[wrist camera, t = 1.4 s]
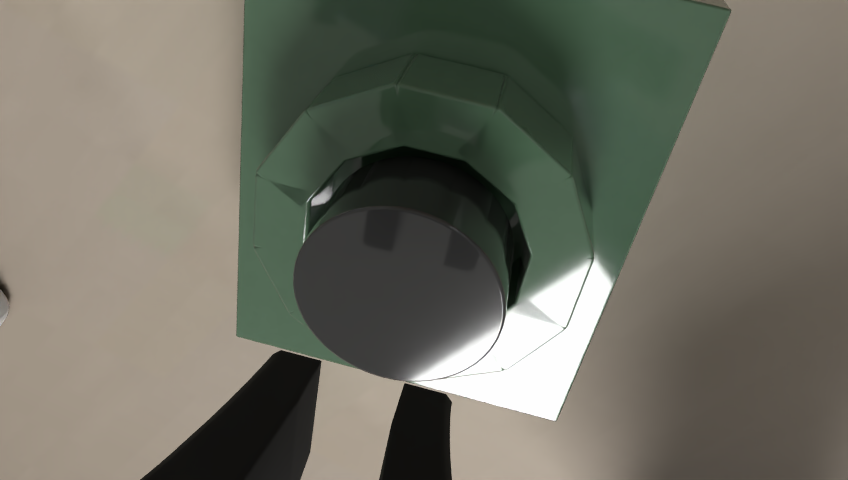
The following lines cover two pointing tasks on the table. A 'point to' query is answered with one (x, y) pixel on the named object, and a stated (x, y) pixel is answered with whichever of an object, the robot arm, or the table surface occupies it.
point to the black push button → (407, 270)
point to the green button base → (470, 149)
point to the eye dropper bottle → (3, 307)
